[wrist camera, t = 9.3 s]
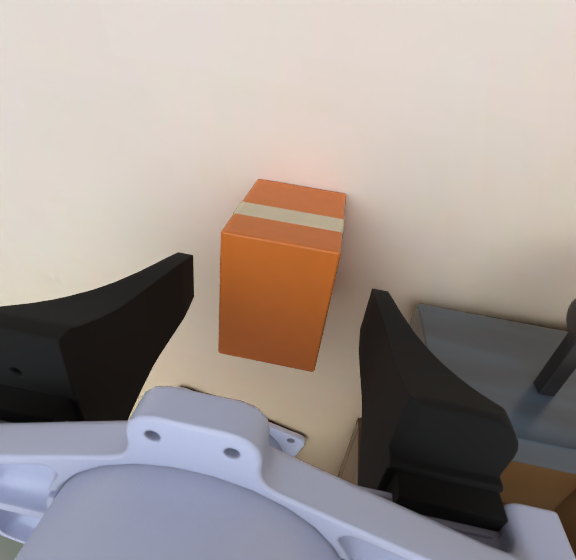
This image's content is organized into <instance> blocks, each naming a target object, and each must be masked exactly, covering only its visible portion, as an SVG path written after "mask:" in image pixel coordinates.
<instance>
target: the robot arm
mask: <svg viewBox="0 0 576 560" xmlns="http://www.w3.org/2000/svg"><path fill="white" fill-rule="evenodd" d="M193 297H194V278H193V255H189V254H184V253H176V254H174V255H172V256H169V257H167V258H165V259H163V260H162V261H160V262H158V263H156V264H154V265H152V266H150V267H148V268H146V269H144V270H142V271H139V272H137V273H135V274H133V275H130V276H128V277H126V278H124V279H121V280H119V281H117V282H114V283H111V284H109V285H106V286H103V287H100V288H97V289H94V290H91V291H87V292H83V293H79V294H76V295H72V296H68V297H63V298H59V299H54V300H48V301H42V302H36V303H29V304H20V305H11V306H1V307H0V535H2V536H5V537H7V538H10V539H12V540H15V541H18V542H20V543H23V544H24V546H23V547H22V549H21V550H20V552H19V553H18V555H17V556H16V558H15V559H14V560H576V558H575V555H574V553H573V550H572V548H571V545H570V543H569V541H568V538H567V536H566V533H565V531H564V529H563V526H562V524H561V521H560V519H559V516H558V514H557V513H556V512H554V511H550V510H546V509H541V508H536V507H532V506H527V505H523V504H517V503H510V504H505V505H504V506H503V503H502V500H501V497H500V494H499V493H501V492H502V491H503V485H502V482H501V478H500V475H501V474H502V472H503V471H504V470H505V469H506V467H507V466H508V465H509V463H510V462H511V461H512V459H513V458H514V457H515V455H516V453H517V451H518V439H517V437H516V434H515V431H514V428H513V426H512V423H511V421H510V419H509V417H508V415H507V413H506V411H505V409H504V408H503V407H501V406H499V405H498V404H496V403H495V402H493V401H492V400H490V399H488V398H487V397H485V396H484V395H482V394H481V393H479V392H478V391H476V390H475V389H474V388H472V387H471V386H469V385H468V384H467V383H465V382H464V381H463V380H462V379H460V378H459V377H458V376H457V375H455V374H454V373H453V372H452V371H451V370H450V369H448V368H447V367H446V366H445V365H444V364H443V363H442V362H441V361H440V360H439V359H438V358H437V357H436V356H435V355H434V354H433V353H432V352H431V351H430V350H429V349H428V348H427V347H426V346H425V345H424V343H423V342H422V341H421V340H420V339H419V337H418V336H417V335H416V334H415V332H414V331H413V330H412V328H411V327H410V325H409V324H408V323H407V321H406V320H405V318H404V317H403V315H402V314H401V312H400V310H399V309H398V307H397V305H396V304H395V302H394V300H393V299H392V297H391V296H390V294H389V292H387V291H382V290H377V289H372V291H371V295H370V298H369V301H368V305H367V308H366V312H365V315H364V319H363V322H362V325H361V329H360V341H359V361H360V376H361V391H362V425H361V443H360V459H359V473H358V486H357V485H354V484H352V483H350V482H348V481H345V480H343V479H341V478H339V477H337V476H334V475H332V474H330V473H328V472H326V471H323V470H321V469H319V468H317V467H315V466H312V465H310V464H308V463H306V462H304V461H301V460H299V459H297V458H295V456H296V455H297V454H298V452H299V451H300V450H301V449H302V447H303V446H304V445H305V438H304V436H302V435H300V434H298V433H295V432H293V431H290V430H288V429H285V428H283V427H281V426H278V425H276V424H273V423H271V422H268V419H267V417H266V416H265V415H264V414H263V413H262V412H261V411H260V410H258V409H257V408H256V407H255V406H253V405H250V404H248V403H245V402H243V401H239V400H234V399H229V398H225V397H220V396H215V395H211V394H206V393H201V392H196V391H192V390H190V389H187V388H185V387H179V388H177V387H171V386H156V387H154V388H152V389H150V390H149V391H147V392H145V394H144V396H143V397H142V399H141V401H140V402H139V404H138V406H137V407H136V409H135V411H134V412H133V414H132V416H131V417H130V419H129V420H128V418H129V416H130V413H131V411H132V409H133V407H134V404H135V402H136V400H137V398H138V396H139V394H140V392H141V389H142V387H143V385H144V383H145V381H146V379H147V377H148V375H149V373H150V371H151V369H152V367H153V365H154V364H155V362H156V360H157V359H158V357H159V355H160V354H161V352H162V351H163V349H164V348H165V346H166V345H167V343H168V342H169V340H170V339H171V337H172V336H173V334H174V333H175V331H176V329H177V328H178V326H179V325H180V323H181V322H182V320H183V319H184V317H185V315H186V313H187V311H188V309H189V307H190V304H191V302H192V300H193Z"/></svg>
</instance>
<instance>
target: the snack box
mask: <svg viewBox="0 0 576 560" xmlns="http://www.w3.org/2000/svg"><path fill="white" fill-rule="evenodd" d="M345 202H346V194H344V193H338V192H332V191H326V190H320V189H314V188H308V187H303V186H297V185H291V184H285V183H279V182H273V181H268V180H262V179H258V180H257V182H256V183H255V184H254V186H253V187H252V189H251V190H250V191H249V193H248V194H247V196H246V197H245V199H244V200H243V201H242V202H241V203H240V204H239V206H238V207H237V208H236V210H235V211H234V213H233V216H232V217H231V219H230V220H229V221H228V223H227V224H226V226H225V227H224V228H223V230H222V231H221V256H220V303H219V353H223V354H227V355H232V356H237V357H242V358H247V359H252V360H257V361H262V362H267V363H271V364H276V365H281V366H286V367H291V368H296V369H301V370H306V371H311V372H313V371H314V370H315V366H316V362H317V357H318V353H319V348H320V344H321V339H322V335H323V330H324V326H325V321H326V317H327V313H328V308H329V304H330V299H331V295H332V290H333V286H334V281H335V277H336V272H337V268H338V263H339V259H340V255H341V244H342V237H343V230H344V212H345Z"/></svg>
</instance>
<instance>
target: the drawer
mask: <svg viewBox="0 0 576 560" xmlns="http://www.w3.org/2000/svg"><path fill="white" fill-rule="evenodd" d="M566 321H567V326H568V329H569V331H568V332H567V331H562V330H557V329H552V328H546V327H541V326H536V325H530V324H525V323H520V322H514V321H509V320H504V319H498V318H493V317H488V316H482V315H477V314H472V313H467V312H461V311H456V310H451V309H445V308H440V307H435V306H429V305H424V304H417V306H416V309H415V312H414V314H413V317H412V319H411V326H412V330H413V331H414V332H415V334H416V335H417V336H418V337H419V339H420V340H421V341H422V342H423V343H424V345H425V346H426V347H427V348H428V349H429V350H430V351H431V352H432V353H433V354H434V355H435V356H436V357H437V358H438V359H439V360H440V361H441V362H442V363H443V364H444V365H445V366H446V367H447V368H448V369H450V370H451V371H452V372H453V373H454V374H455V375H457V376H458V377H459V378H460V379H462V380H463V381H464V382H465V383H467V384H468V385H469V386H471V387H472V388H474V389H475V390H476V391H478V392H479V393H481V394H482V395H484V396H485V397H487V398H488V399H490V400H492V401H493V402H495V403H496V404H498V405H499V406H501V407H503V408H504V409H505V411H506V413H507V415H508V417H509V419H510V421H511V423H512V426H513V428H514V431H515V434H516V437H517V439H518V451H517V453H516V455H515V457H514V458H513V459H512V461H511V462H510V463H509V465H508V466H507V467H506V469H505V470H504V471H503V472H502V474H501V475H500V478H501V482H502V485H503V491H502V492H501V493H499V494H500V497H501V500H502V503H503V506H504V505H505V504H510V503H517V504H523V505H527V506H532V507H536V508H541V509H546V510H550V511H554V512H556V513H557V514H558V516H559V519H560V521H561V524H562V526H563V529H564V531H565V533H566V536H567V538H568V541H569V543H570V545H571V548H572V550H573V553H574V555H575V558H576V299H575V300H574V301H573V302H572V303H571V305H570V306H569V309H568V312H567V317H566Z"/></svg>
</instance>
